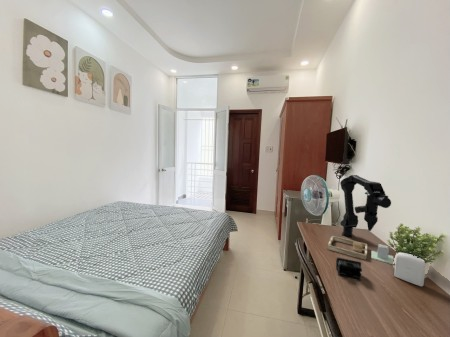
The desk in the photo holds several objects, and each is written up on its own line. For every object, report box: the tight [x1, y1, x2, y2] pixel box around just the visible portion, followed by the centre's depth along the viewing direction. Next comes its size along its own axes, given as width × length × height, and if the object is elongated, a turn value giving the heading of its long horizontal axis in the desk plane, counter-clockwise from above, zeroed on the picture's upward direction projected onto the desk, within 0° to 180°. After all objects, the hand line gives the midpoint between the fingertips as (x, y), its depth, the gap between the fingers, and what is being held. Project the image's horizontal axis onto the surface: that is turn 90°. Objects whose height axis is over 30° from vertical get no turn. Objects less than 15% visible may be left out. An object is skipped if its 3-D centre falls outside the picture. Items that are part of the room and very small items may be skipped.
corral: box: [326, 235, 368, 261], centre depth 125 cm, size 18×20×2 cm
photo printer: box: [393, 252, 426, 287], centre depth 95 cm, size 10×4×12 cm, turn 39°
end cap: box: [335, 257, 363, 281], centre depth 99 cm, size 10×7×7 cm
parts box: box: [376, 243, 390, 260], centre depth 115 cm, size 4×4×6 cm
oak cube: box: [352, 241, 363, 253], centre depth 123 cm, size 4×4×4 cm
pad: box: [370, 250, 395, 265], centre depth 115 cm, size 10×10×1 cm
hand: (369, 228), depth 124 cm, fingers open, 9 cm apart
